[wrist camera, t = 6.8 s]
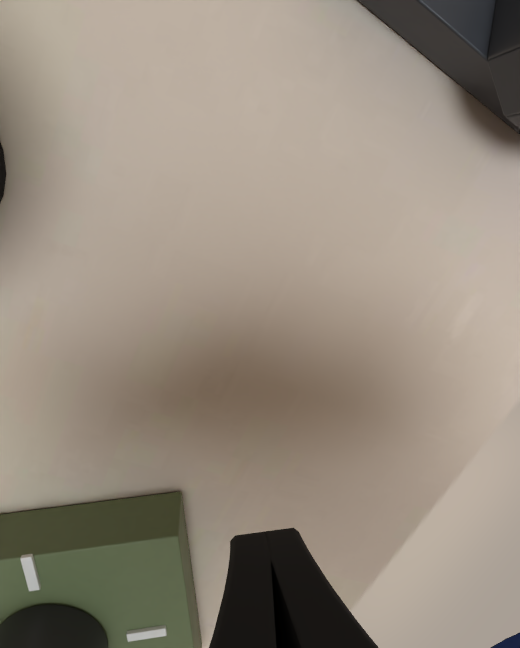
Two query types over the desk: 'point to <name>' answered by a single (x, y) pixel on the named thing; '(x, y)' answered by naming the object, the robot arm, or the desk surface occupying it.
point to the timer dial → (51, 629)
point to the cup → (2, 172)
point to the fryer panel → (106, 568)
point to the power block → (465, 44)
